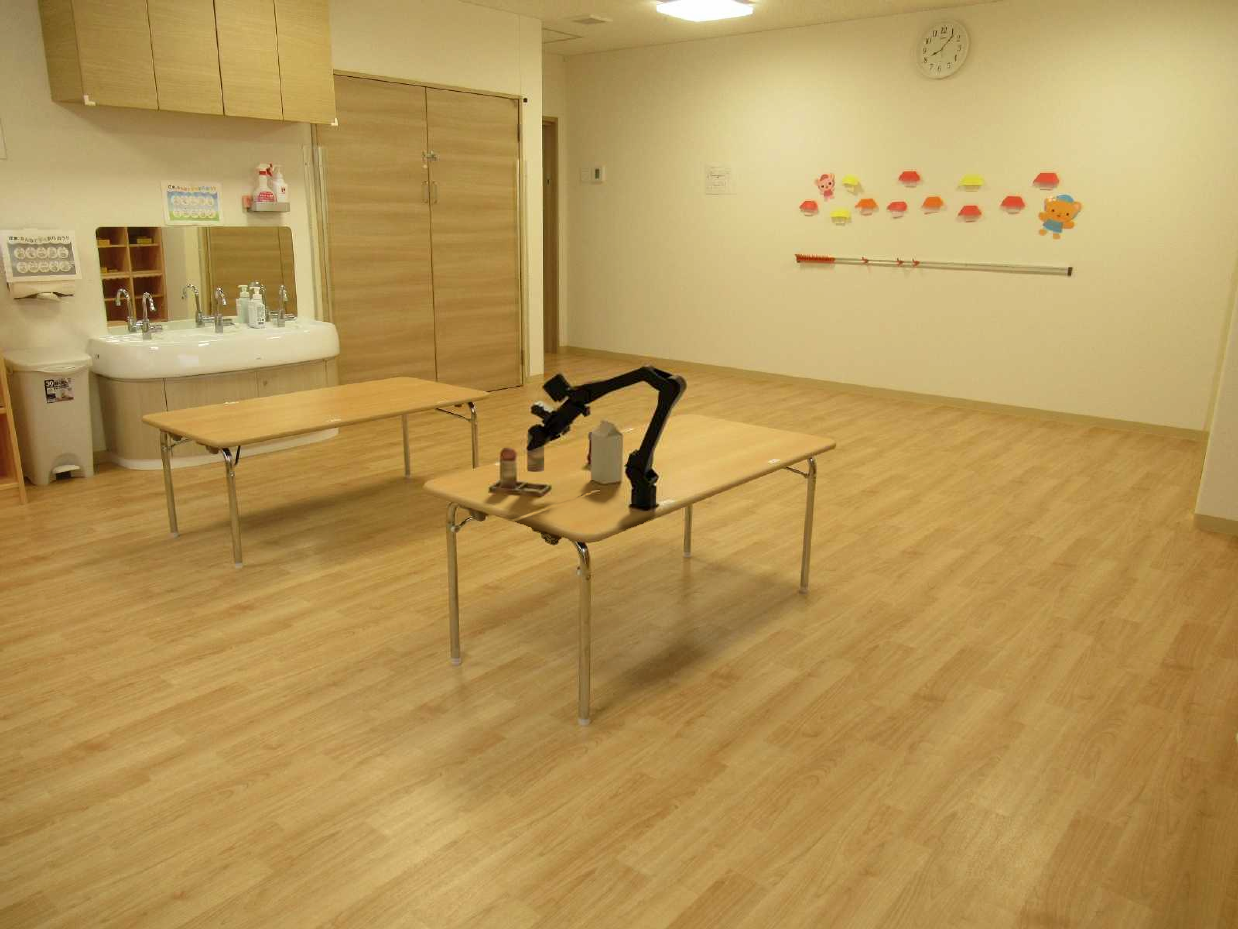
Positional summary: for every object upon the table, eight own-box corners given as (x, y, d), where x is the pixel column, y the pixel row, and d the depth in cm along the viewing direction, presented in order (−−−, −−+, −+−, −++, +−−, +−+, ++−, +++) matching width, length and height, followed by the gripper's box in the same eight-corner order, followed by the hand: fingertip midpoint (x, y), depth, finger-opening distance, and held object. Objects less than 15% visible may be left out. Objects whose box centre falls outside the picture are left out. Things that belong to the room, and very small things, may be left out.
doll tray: (551, 491, 269) (551, 485, 269) (541, 499, 261) (541, 492, 261) (500, 485, 274) (500, 479, 273) (489, 493, 266) (489, 487, 265)
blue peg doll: (547, 468, 268) (547, 427, 264) (538, 472, 263) (538, 430, 260) (532, 466, 270) (532, 425, 266) (524, 470, 265) (523, 428, 262)
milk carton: (603, 485, 277) (604, 424, 272) (590, 479, 283) (591, 420, 278) (622, 481, 281) (623, 422, 276) (608, 476, 287) (610, 418, 282)
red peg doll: (520, 488, 269) (520, 447, 265) (508, 492, 265) (508, 450, 261) (507, 485, 272) (507, 444, 268) (496, 488, 268) (496, 447, 264)
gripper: (560, 388, 268) (527, 420, 274) (534, 398, 251) (499, 433, 257) (585, 416, 267) (551, 448, 274) (560, 428, 250) (524, 463, 257)
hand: (531, 447), depth 265 cm, fingers closed on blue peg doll, 5 cm apart
